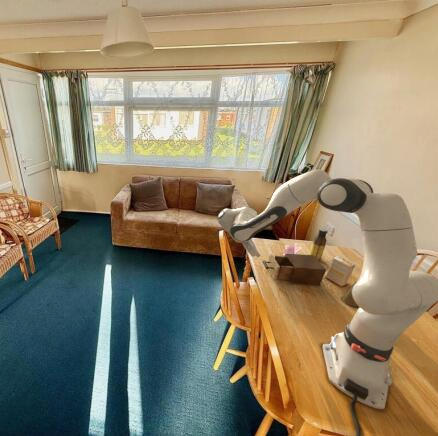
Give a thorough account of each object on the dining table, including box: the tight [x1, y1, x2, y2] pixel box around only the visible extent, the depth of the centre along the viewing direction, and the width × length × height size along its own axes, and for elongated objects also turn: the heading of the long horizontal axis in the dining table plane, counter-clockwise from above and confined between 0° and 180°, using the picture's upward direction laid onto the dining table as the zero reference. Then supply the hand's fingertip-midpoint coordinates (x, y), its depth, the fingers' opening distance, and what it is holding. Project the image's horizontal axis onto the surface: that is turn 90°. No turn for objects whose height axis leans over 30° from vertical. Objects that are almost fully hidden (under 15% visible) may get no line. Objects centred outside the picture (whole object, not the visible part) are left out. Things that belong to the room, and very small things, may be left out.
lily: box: [281, 242, 303, 256], centre depth 140 cm, size 12×12×10 cm
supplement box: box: [325, 255, 357, 287], centre depth 119 cm, size 8×5×13 cm, turn 22°
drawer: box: [261, 254, 294, 281], centre depth 124 cm, size 18×11×9 cm, turn 82°
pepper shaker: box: [342, 281, 359, 308], centre depth 106 cm, size 6×6×11 cm
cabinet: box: [284, 252, 327, 287], centre depth 123 cm, size 15×13×11 cm
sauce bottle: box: [308, 227, 328, 261], centre depth 137 cm, size 6×6×20 cm
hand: (256, 250), depth 122 cm, fingers open, 8 cm apart
